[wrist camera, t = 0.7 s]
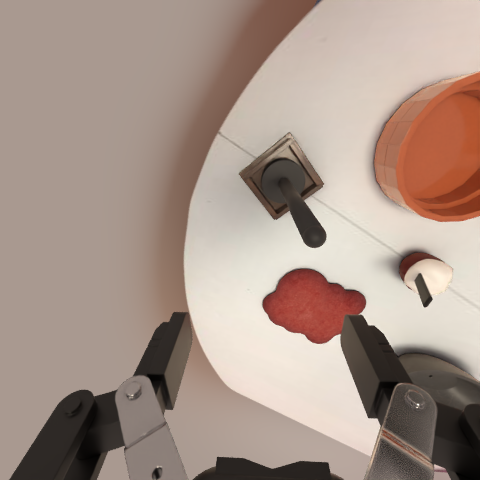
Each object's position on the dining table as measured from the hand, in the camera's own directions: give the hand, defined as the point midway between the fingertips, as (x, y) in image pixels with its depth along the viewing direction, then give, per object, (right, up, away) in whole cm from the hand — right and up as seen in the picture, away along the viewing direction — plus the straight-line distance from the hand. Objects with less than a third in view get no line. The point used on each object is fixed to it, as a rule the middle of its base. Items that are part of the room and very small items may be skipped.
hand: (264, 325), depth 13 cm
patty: (+12, -8, +34) cm, 37 cm away
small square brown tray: (+5, +14, +24) cm, 28 cm away
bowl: (+38, -23, +39) cm, 59 cm away
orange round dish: (+26, +17, +22) cm, 38 cm away
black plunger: (+5, +13, +24) cm, 28 cm away
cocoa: (+28, +1, +29) cm, 40 cm away
